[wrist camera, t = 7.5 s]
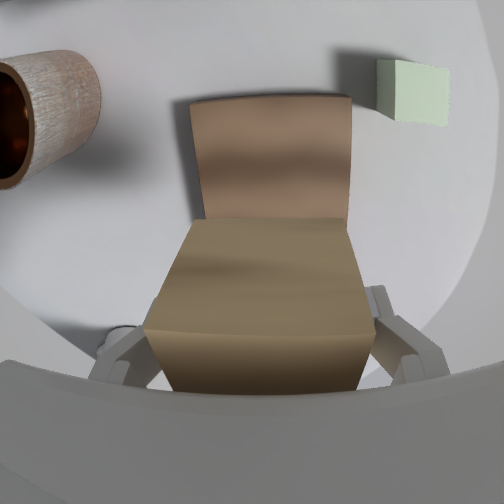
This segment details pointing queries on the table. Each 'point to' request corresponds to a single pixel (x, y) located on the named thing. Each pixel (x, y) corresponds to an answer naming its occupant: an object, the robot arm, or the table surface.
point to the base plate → (274, 155)
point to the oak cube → (263, 309)
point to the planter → (44, 111)
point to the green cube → (413, 92)
